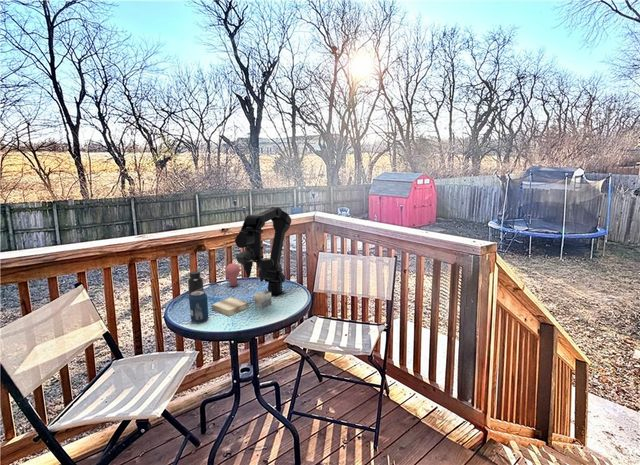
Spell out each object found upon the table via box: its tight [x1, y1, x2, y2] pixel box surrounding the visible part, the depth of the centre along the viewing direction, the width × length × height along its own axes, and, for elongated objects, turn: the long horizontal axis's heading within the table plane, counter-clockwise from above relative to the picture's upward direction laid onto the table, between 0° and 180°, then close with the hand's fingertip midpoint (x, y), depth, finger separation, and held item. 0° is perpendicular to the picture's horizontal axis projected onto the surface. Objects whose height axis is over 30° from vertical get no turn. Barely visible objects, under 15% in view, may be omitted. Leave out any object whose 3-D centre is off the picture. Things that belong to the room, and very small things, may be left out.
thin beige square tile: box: [211, 296, 250, 317], centre depth 165 cm, size 11×11×2 cm
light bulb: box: [224, 262, 241, 287], centre depth 193 cm, size 7×7×12 cm
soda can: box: [188, 290, 210, 324], centre depth 153 cm, size 7×7×12 cm
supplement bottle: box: [187, 270, 205, 298], centre depth 179 cm, size 7×7×12 cm
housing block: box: [253, 289, 273, 310], centre depth 168 cm, size 6×5×6 cm
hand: (254, 279), depth 164 cm, fingers open, 9 cm apart
